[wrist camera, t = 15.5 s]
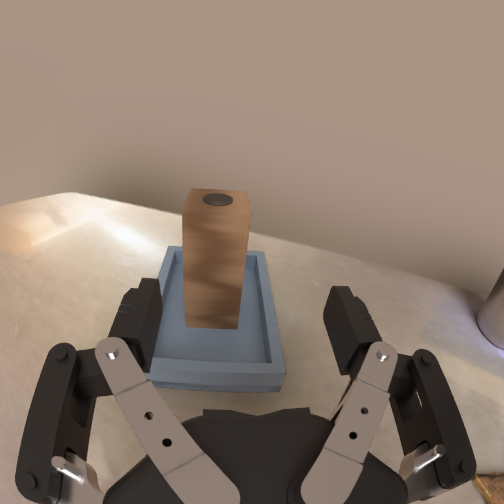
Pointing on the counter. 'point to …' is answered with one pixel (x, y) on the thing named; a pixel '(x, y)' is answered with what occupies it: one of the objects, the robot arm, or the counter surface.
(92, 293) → the counter surface
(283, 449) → the robot arm
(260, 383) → the slate tray
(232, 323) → the walnut block
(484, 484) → the shard
